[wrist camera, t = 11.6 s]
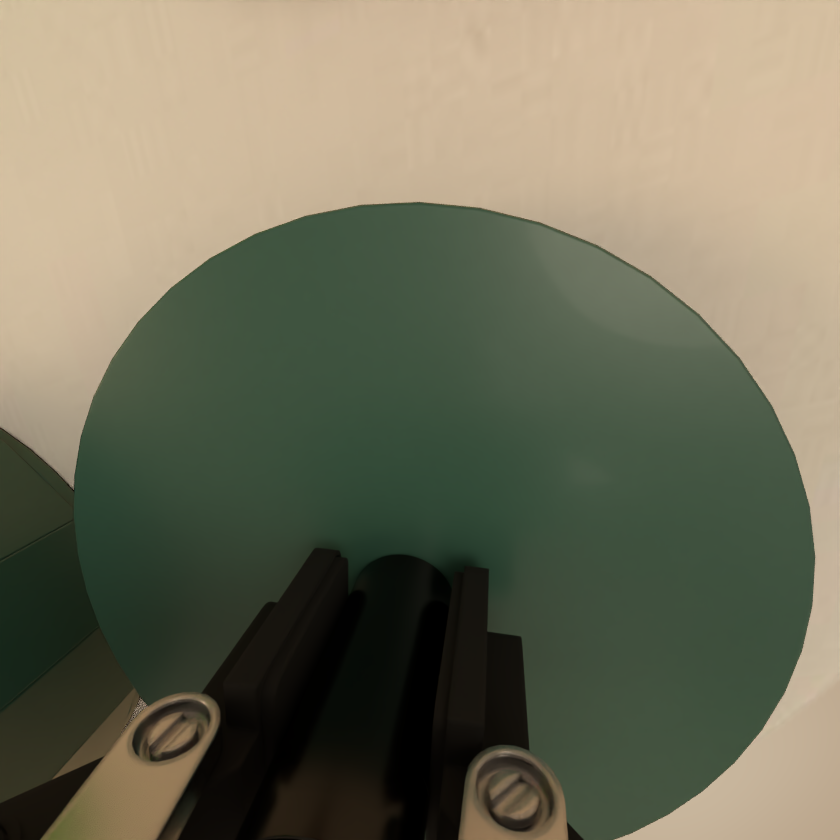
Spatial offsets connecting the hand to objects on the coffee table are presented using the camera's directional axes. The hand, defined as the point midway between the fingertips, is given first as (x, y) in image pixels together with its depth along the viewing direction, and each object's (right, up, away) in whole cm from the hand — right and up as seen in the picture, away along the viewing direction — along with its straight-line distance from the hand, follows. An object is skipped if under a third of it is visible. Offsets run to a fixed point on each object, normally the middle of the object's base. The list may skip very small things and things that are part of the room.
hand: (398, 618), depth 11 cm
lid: (0, 0, +1) cm, 1 cm away
